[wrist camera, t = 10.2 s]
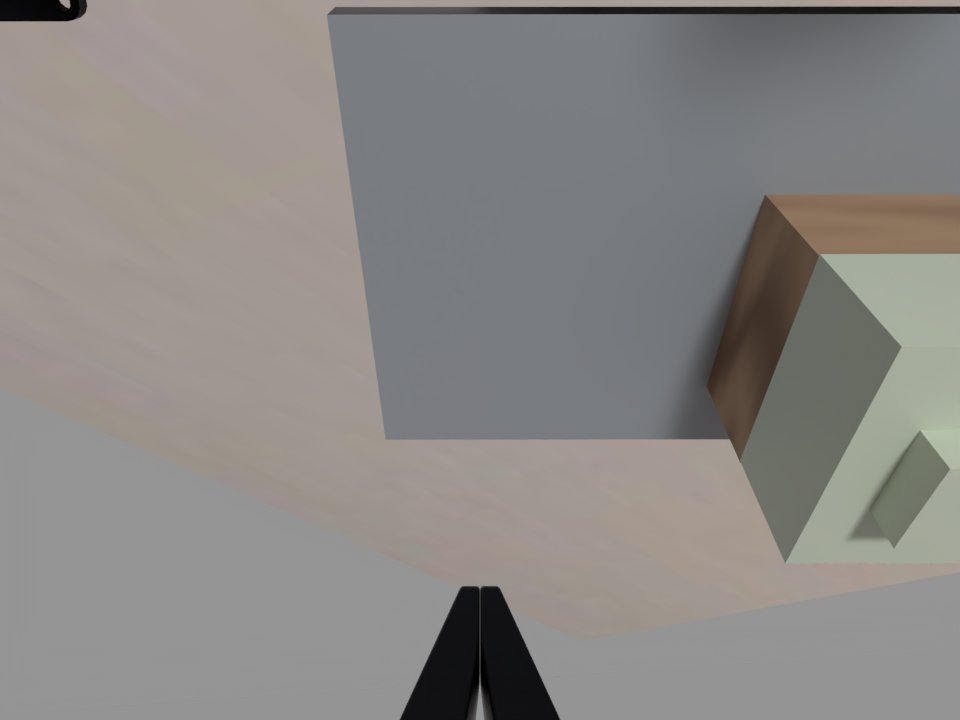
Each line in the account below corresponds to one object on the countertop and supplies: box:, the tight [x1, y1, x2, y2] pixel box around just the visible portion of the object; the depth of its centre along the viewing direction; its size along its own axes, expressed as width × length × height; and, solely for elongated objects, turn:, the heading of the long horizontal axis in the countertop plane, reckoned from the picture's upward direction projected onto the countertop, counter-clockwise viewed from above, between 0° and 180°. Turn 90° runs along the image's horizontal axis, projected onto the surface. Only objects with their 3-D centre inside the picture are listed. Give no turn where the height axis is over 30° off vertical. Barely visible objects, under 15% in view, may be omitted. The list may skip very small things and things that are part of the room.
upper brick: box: [740, 254, 960, 564], centre depth 17 cm, size 8×6×5 cm
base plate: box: [327, 6, 960, 440], centre depth 22 cm, size 24×16×1 cm, turn 90°
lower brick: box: [707, 194, 960, 463], centre depth 20 cm, size 8×6×5 cm
